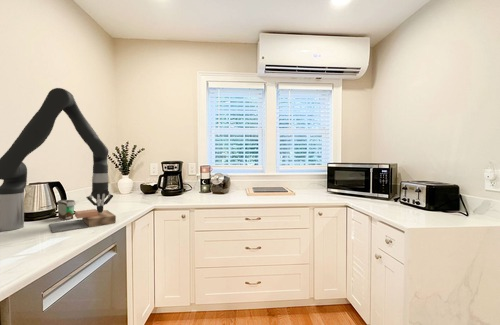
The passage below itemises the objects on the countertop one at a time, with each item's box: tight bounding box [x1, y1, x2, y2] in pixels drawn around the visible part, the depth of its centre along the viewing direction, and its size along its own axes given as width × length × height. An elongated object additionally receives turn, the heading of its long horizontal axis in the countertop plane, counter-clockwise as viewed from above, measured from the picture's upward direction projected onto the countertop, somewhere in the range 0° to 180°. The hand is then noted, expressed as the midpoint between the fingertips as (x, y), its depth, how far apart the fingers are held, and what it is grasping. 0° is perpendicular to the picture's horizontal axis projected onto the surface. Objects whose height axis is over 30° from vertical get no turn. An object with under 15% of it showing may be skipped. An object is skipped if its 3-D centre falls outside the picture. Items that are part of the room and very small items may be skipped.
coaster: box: [74, 208, 98, 220], centre depth 122 cm, size 9×7×2 cm
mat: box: [48, 218, 89, 234], centre depth 117 cm, size 14×18×1 cm
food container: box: [57, 199, 77, 221], centre depth 132 cm, size 12×6×10 cm, turn 59°
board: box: [81, 209, 117, 228], centre depth 126 cm, size 12×18×4 cm, turn 45°
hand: (100, 212), depth 127 cm, fingers closed
